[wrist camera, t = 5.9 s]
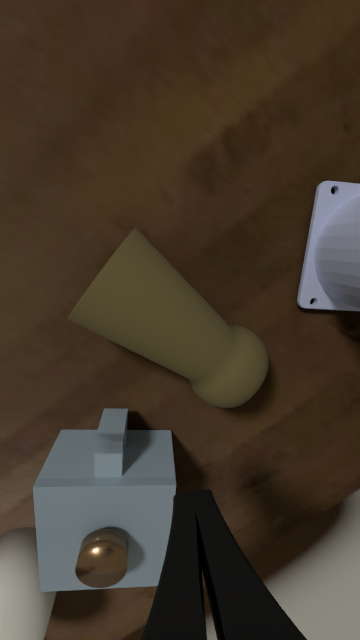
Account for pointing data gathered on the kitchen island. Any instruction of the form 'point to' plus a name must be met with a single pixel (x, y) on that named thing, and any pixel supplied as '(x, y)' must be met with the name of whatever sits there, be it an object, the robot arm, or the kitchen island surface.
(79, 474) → the blue box with knob
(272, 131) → the kitchen island surface
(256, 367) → the cork
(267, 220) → the kitchen island surface
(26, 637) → the white pillar candle
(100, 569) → the plunger
